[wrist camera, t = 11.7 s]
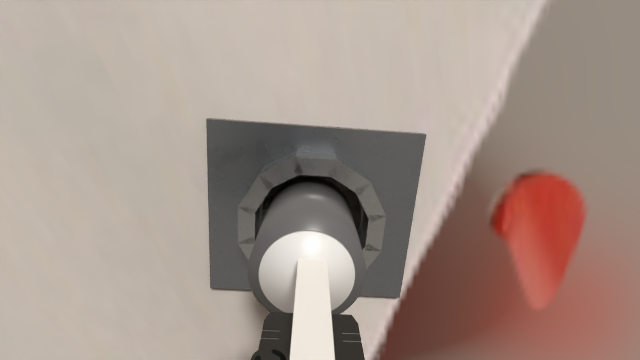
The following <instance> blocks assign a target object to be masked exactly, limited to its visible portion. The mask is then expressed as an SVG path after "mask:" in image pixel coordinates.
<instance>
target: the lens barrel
mask: <svg viewBox="0 0 640 360" xmlns="http://www.w3.org/2000/svg"><path fill="white" fill-rule="evenodd" d="M298 258H308V259H326V260H327V266H328V279H329V291H330V304H331V314H340V313H342V312H344V311H345V310H346V309H348V308H349V307H350V306H351V305H352V304H353V303H354V302H355V300H356V299H357V298H358V296H359V295H360V293H361V291H362V289H363V286H364V283H365V278H366V263H365V259H364V255H363V251H362V248H361V244H360V241H359V238H358V234H357V231H356V227H355V224H354V220H353V217H352V214H351V210H350V207H349V203H348V201H347V199H346V197H345V195H344V194H343V192H342V191H341V190H340V189H339V188H338V187H337V186H335V185H334V184H333V183H331V182H329V181H327V180H325V179H322V178H318V177H309V176H306V177H299V178H295V179H293V180H290V181H288V182H287V183H285V184H283V185H282V186H281V187H280V188H279V189H278V190H277V191H276V192H275V193H274V195H273V196H272V198H271V200H270V203H269V205H268V208H267V211H266V213H265V216H264V219H263V222H262V224H261V227H260V230H259V233H258V235H257V238H256V241H255V243H254V246H253V249H252V252H251V254H250V258H249V262H248V280H249V284H250V287H251V289H252V291H253V293H254V295H255V297H256V298H257V299H258V301H259V302H260V303H261V304H262V305H263V306H264V307H265V308H266V309H267V310H269V311H270V312H283V313H294V302H295V290H296V278H297V266H298Z"/></svg>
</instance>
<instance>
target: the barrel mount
mask: <svg viewBox="0 0 640 360" xmlns="http://www.w3.org/2000/svg"><path fill="white" fill-rule="evenodd" d="M206 121H207V164H208V206H209V249H210V288H218V289H238V290H252V289H251V287H250V284H249V280H248V262H249V258H250V254H251V252H252V249H253V246H254V243H255V241H256V238H257V235H258V233H259V230H260V227H261V224H262V222H263V219H264V216H265V213H266V211H267V208H268V205H269V203H270V200H271V198H272V196H273V195H274V193H275V192H276V191H277V190H278V189H279V188H280V187H281V186H282V185H283V184H285V183H287V182H288V181H290V180H293V179H295V178H299V177H306V176H309V177H318V178H322V179H325V180H327V181H329V182H331V183H333V184H334V185H335V186H337V187H338V188H339V189H340V190H341V191H342V192H343V194H344V195H345V197H346V199H347V201H348V203H349V207H350V210H351V214H352V217H353V220H354V224H355V227H356V231H357V234H358V238H359V241H360V244H361V248H362V251H363V255H364V259H365V263H366V278H365V283H364V286H363V289H362V291H361V293H360V295H359V296H378V297H397V298H400V292H401V286H402V280H403V274H404V267H405V261H406V255H407V249H408V243H409V237H410V231H411V225H412V219H413V212H414V206H415V200H416V194H417V188H418V182H419V176H420V170H421V164H422V157H423V151H424V145H425V139H426V134H424V133H410V132H396V131H382V130H368V129H354V128H340V127H325V126H311V125H297V124H283V123H269V122H255V121H241V120H226V119H212V118H208V119H206Z"/></svg>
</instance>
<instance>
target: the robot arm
mask: <svg viewBox="0 0 640 360" xmlns="http://www.w3.org/2000/svg"><path fill="white" fill-rule="evenodd" d="M251 360H365V359H364V353H363V348H362V343H361V337H360V332H359V327H358V323H357V322H356V320H355V319H354V318H353V316H352V315H342V314H331V304H330V291H329V279H328V266H327V260H326V259H308V258H298V266H297V278H296V290H295V302H294V313H283V312H271V313H270V314H269V315H268V316H267V318H266V319H265V320H264V325H263V331H262V335H261V340H260V345H259V350H258V351H257V352H255V353H254V354H253V356H252V358H251Z"/></svg>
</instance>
